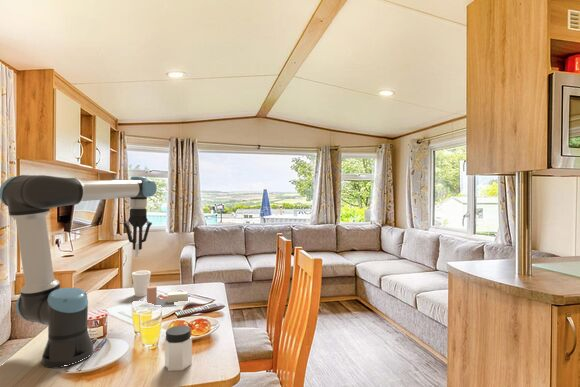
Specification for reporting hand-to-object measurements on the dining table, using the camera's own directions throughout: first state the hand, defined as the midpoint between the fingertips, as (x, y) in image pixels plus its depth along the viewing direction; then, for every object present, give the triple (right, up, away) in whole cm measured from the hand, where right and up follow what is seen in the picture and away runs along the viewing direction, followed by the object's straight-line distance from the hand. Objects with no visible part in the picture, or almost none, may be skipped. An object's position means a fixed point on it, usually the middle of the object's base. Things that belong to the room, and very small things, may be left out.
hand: (137, 256), depth 163 cm
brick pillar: (+6, -26, +4) cm, 27 cm away
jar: (+37, -28, -49) cm, 67 cm away
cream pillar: (+11, -24, +11) cm, 28 cm away
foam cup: (-8, -26, +22) cm, 35 cm away
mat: (+11, -26, +11) cm, 31 cm away
